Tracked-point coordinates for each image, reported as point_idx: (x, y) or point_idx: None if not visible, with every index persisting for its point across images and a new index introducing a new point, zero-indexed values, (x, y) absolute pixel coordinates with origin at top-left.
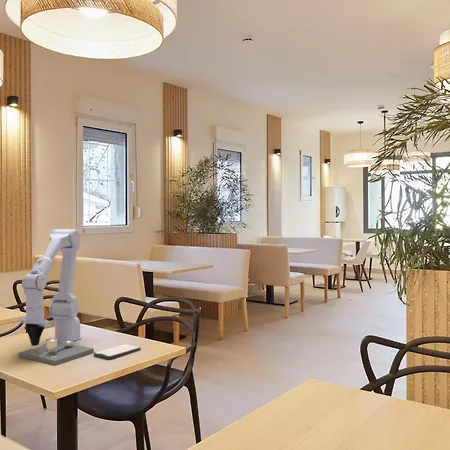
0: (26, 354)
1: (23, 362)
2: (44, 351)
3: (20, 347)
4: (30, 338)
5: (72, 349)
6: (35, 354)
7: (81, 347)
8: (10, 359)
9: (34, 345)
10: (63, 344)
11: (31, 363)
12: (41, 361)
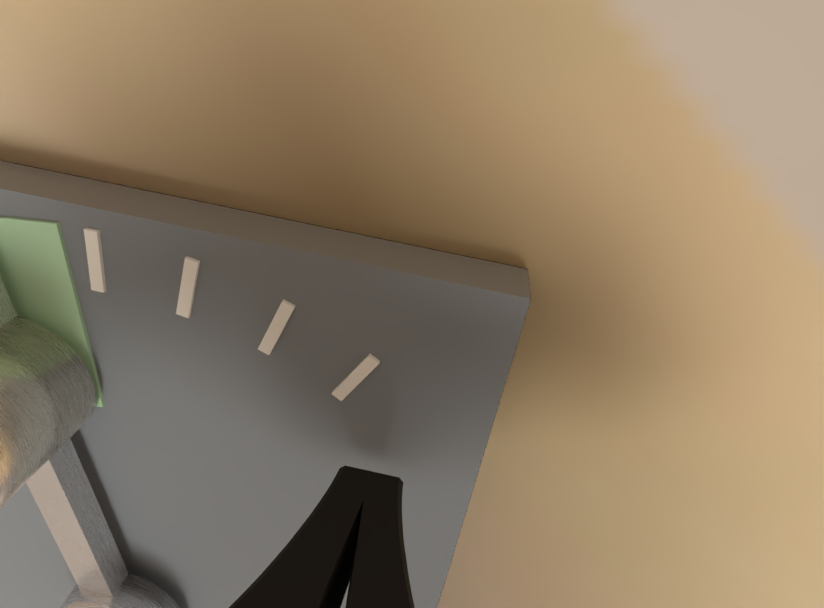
0: (335, 256)
1: (229, 52)
2: (213, 425)
3: (796, 581)
4: (376, 569)
5: (16, 543)
6: (184, 277)
7: (14, 604)
8: (559, 110)
9: (337, 474)
10: (113, 602)
11: (81, 57)
12: (21, 167)
